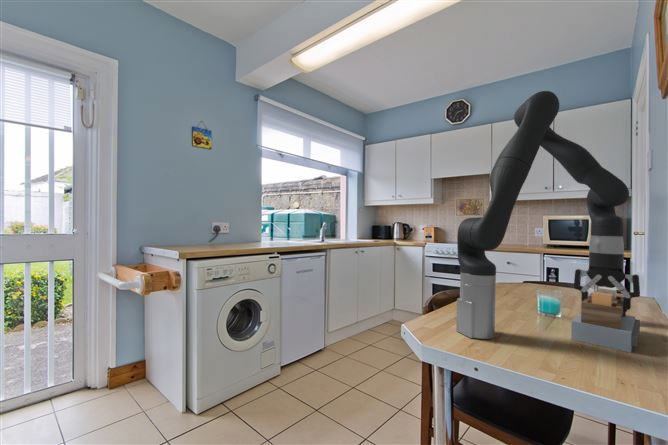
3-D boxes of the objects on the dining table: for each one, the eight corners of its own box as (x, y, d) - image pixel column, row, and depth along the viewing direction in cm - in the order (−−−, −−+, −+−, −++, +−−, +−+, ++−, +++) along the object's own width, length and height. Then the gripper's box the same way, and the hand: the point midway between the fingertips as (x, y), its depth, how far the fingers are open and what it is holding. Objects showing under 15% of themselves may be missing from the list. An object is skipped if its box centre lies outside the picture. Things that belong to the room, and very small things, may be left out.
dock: (636, 354, 77) (636, 333, 77) (571, 339, 86) (571, 321, 86) (639, 334, 92) (640, 317, 92) (583, 323, 101) (584, 308, 101)
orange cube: (611, 311, 82) (611, 296, 82) (591, 308, 85) (591, 293, 85) (612, 308, 85) (612, 294, 85) (593, 305, 88) (593, 291, 88)
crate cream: (615, 304, 91) (615, 290, 91) (597, 301, 94) (597, 288, 94) (616, 301, 94) (616, 288, 94) (599, 299, 97) (599, 286, 97)
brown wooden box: (620, 330, 79) (620, 308, 79) (581, 322, 85) (581, 302, 85) (625, 315, 94) (626, 297, 94) (591, 309, 99) (591, 292, 99)
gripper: (641, 253, 87) (640, 311, 87) (577, 249, 97) (576, 301, 97) (640, 254, 82) (639, 315, 82) (572, 250, 92) (571, 304, 92)
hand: (604, 307), depth 89 cm, fingers open, 8 cm apart
